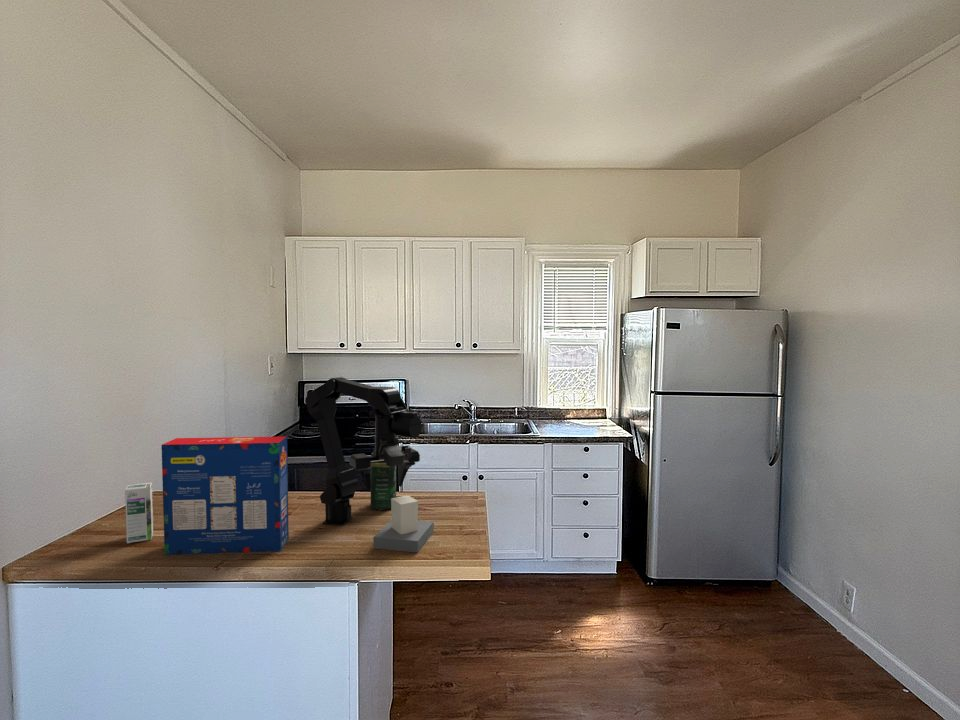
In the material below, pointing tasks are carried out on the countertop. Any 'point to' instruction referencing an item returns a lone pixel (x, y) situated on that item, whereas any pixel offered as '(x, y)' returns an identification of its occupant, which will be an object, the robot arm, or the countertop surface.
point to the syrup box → (139, 512)
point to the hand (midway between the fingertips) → (384, 488)
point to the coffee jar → (382, 485)
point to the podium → (403, 538)
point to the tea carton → (404, 514)
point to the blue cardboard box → (225, 495)
